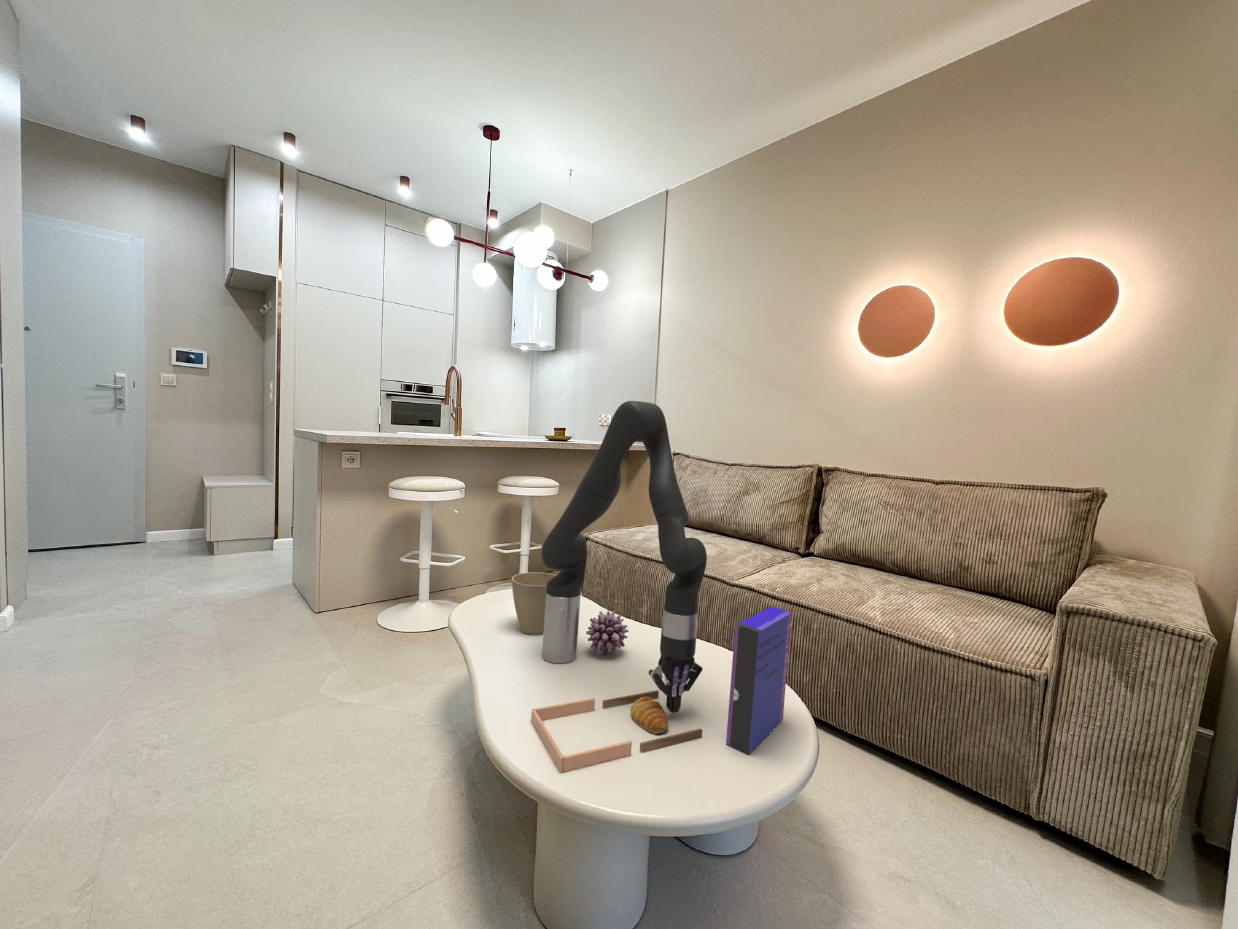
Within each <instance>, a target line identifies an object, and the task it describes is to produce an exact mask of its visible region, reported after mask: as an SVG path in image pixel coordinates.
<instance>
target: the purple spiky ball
mask: <svg viewBox="0 0 1238 929" xmlns="http://www.w3.org/2000/svg"><path fill="white" fill-rule="evenodd" d="M598 613H599V614H597V617H598V618H596V617H594V616H593V618H592V617H591V618H590V619H589V621H590V622H591V623H590V626H588V627H587V629H588V630H586V631H585V632H586V633H585V634H586V635H589V636H590V637H589V638H587V641H588V642H592V643H591V644H590V648H593V649H594V650H595V651H596V650H597V649H598V650H599V655H603V654H604V655H607V654H608V652H609V653H612V655H615V654H616V651H617V648H618V649H620V650H621V648H624V647H625V646H626V644H625V642H624V640H625V639H627V638H628V637H629V636H628V635H625V634H626V633H629V628H628V627H629V626H628V624H622V623H623V621H624V620H625V619H624V618H621V617H622V615H621V614H618V615H617V616H615V615H616V614H615V613H616V611H615V610H612V611H611V613H610V611H609V610H607V611H606V614H605V613H603V611H602V610H601V611H599V612H598Z"/></svg>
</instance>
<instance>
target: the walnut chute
mask: <svg viewBox="0 0 1238 929" xmlns="http://www.w3.org/2000/svg"><path fill="white" fill-rule="evenodd" d="M659 693H660V690H659V689H656V690H650V691H646V692H640V693H635V694H629V695H624V696H619V697H614V698H608V699H604V700H602V709H608V708H612V707H617V706H623V705H628V704H629V705H630V704H634V702H635V701H636V700H638V699H640V698H641V697H650V698H652V699H653V700H654V699H659V696H660V695H659ZM701 738H703V729H702V728H701V727H700V728H696V729H694V730H693V729H692V730H688V731H685V732H679V733H675V734H672V735H668V736H664V737H659V738H655V739H652V740H651V739H650V740H647V741H643V742H639V751H640V753H644V752H645V753H646V752H649V751H653V750H656V749H662V748H666V747H669V746H673V745H678V744H681V743H684V742H689V741H693V740H697V739H701Z"/></svg>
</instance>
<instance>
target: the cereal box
mask: <svg viewBox="0 0 1238 929" xmlns="http://www.w3.org/2000/svg"><path fill="white" fill-rule="evenodd" d="M791 622H792V612H790V611H787V610H785V609H781V608H777V607H776V608H775V607H772V606H771V607H768V608H766V609H764V610H762V611H760V612H758V613H756V614H754V615H752V616H750V617H748V618H747V619H745V620H743V621H740V622H739V623H737V624H735V625H734V635H733V647H732V648H733V649H732V661H731V673H730V674H731V676H730V688H729V700H728V715H727V726H726V727H727V728H726V739H725V746H728V747H730V748H732V749H734V750H736V751H739V752H740V753H742V754H744V755H747V756H750V755H751V754H752V753H753V752H754V751H755V750H756V749H757V748H758V747H759V746H760V745H761V744H762V743H763V742H764V741H765V740H766V738H768V737H769V736H770V735H771V733H773V732H774V730H775V729H777V727H778V726H779V725H780V724H781V723H782V722H783V721H784V711H785V698H786V697H785V696H786V685H787V672H788V662H789V661H788V659H789V650H790V649H789V648H790V634H791V625H792V624H791ZM782 720H783V721H782ZM781 721H782V722H781ZM780 722H781V723H780ZM779 723H780V724H779ZM778 724H779V725H778ZM777 725H778V726H777ZM776 726H777V727H776ZM774 728H775V729H774ZM773 729H774V730H773ZM770 732H771V733H770ZM764 739H765V740H764ZM763 740H764V741H763ZM762 741H763V742H762ZM761 742H762V743H761Z"/></svg>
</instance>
